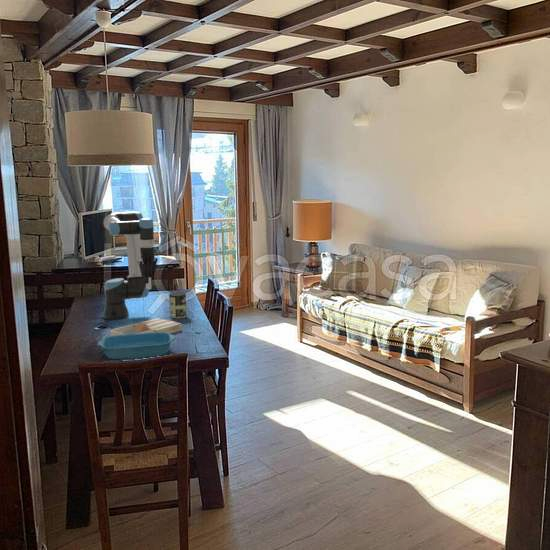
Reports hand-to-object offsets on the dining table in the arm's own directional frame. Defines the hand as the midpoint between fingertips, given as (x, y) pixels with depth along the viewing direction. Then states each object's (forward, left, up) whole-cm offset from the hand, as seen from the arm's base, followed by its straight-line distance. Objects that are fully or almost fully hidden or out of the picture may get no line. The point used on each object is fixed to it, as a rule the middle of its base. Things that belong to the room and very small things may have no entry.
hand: (148, 288), depth 314 cm
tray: (+5, -17, -24) cm, 29 cm away
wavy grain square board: (+5, +1, -24) cm, 24 cm away
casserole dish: (+28, -31, -24) cm, 49 cm away
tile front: (+5, -18, -20) cm, 27 cm away
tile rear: (+5, -10, -21) cm, 24 cm away
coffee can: (-11, +31, -24) cm, 41 cm away
